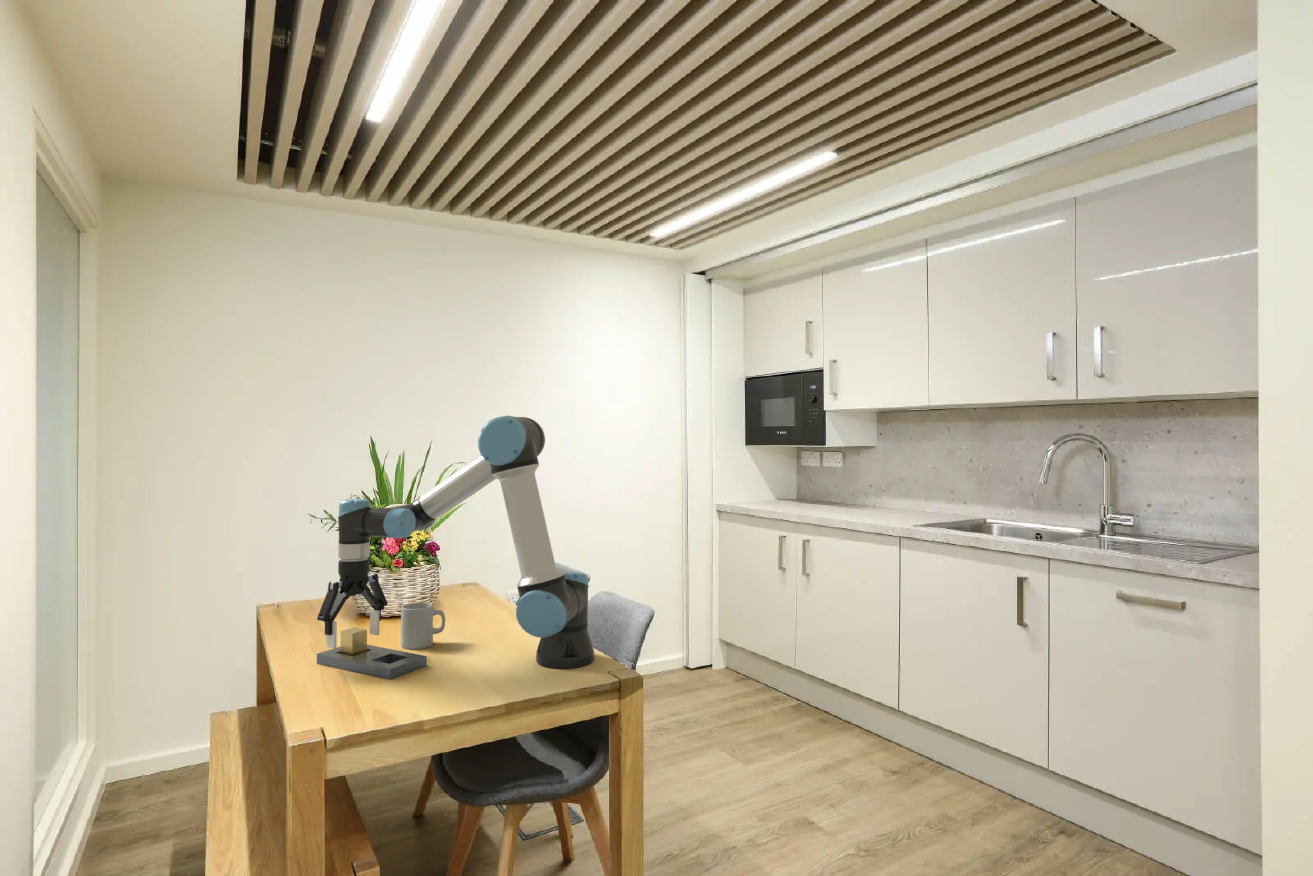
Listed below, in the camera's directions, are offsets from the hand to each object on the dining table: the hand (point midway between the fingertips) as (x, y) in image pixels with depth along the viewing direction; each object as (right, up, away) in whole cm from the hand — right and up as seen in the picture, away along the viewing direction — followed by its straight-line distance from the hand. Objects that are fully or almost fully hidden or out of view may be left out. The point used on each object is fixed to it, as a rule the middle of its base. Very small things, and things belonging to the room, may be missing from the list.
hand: (353, 640), depth 194 cm
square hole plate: (+6, -5, -3) cm, 8 cm away
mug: (+13, -5, +16) cm, 21 cm away
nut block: (0, -5, 0) cm, 5 cm away
